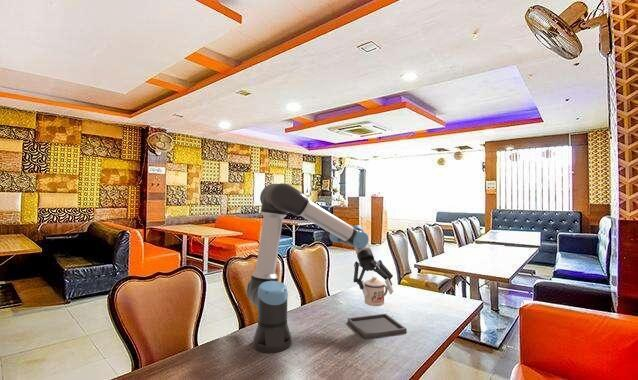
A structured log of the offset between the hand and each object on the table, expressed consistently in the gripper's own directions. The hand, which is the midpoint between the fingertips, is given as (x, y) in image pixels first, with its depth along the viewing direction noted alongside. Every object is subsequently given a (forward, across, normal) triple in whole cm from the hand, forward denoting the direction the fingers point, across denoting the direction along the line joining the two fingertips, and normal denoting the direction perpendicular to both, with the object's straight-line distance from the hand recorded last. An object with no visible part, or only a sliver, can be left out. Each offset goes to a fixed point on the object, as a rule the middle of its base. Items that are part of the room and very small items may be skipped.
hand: (379, 294), depth 140 cm
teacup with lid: (+2, 0, -5) cm, 5 cm away
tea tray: (+9, 0, -13) cm, 16 cm away
